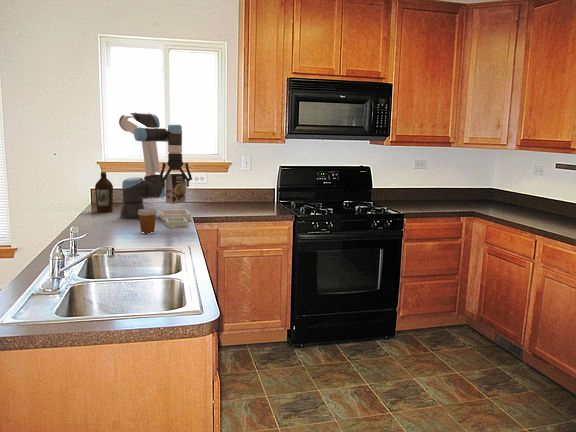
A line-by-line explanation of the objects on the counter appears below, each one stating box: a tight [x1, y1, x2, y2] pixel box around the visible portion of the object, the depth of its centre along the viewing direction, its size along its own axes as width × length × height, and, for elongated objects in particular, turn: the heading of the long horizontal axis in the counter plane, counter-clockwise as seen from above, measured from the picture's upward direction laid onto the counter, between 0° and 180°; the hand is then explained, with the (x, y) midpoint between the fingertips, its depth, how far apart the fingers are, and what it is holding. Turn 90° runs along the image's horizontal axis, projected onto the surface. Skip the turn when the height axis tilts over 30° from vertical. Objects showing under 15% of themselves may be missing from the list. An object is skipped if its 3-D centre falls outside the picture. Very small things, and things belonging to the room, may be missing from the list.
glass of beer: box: [138, 208, 158, 233], centre depth 254 cm, size 10×10×12 cm
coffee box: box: [165, 173, 187, 205], centre depth 274 cm, size 9×6×16 cm
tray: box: [164, 217, 189, 228], centre depth 278 cm, size 11×14×3 cm
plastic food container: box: [158, 208, 192, 222], centre depth 296 cm, size 16×17×4 cm
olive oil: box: [94, 171, 114, 213], centre depth 312 cm, size 11×11×25 cm
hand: (175, 193), depth 275 cm, fingers closed on coffee box, 11 cm apart
